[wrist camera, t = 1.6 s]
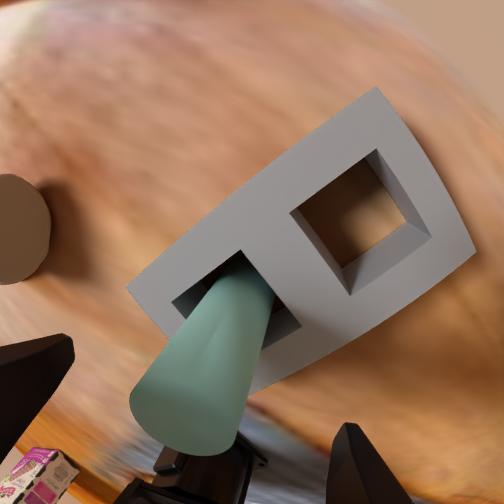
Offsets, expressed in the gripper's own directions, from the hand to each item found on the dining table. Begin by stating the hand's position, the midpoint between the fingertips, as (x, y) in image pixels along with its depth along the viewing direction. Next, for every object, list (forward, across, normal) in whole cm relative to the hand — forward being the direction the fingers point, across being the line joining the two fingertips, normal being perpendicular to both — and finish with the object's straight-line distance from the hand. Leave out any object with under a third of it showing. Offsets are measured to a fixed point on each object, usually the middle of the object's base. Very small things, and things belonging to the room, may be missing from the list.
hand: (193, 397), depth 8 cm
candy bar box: (+9, +24, +37) cm, 45 cm away
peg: (+9, 0, 0) cm, 9 cm away
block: (+9, -2, -3) cm, 9 cm away
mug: (+9, +18, +1) cm, 21 cm away
